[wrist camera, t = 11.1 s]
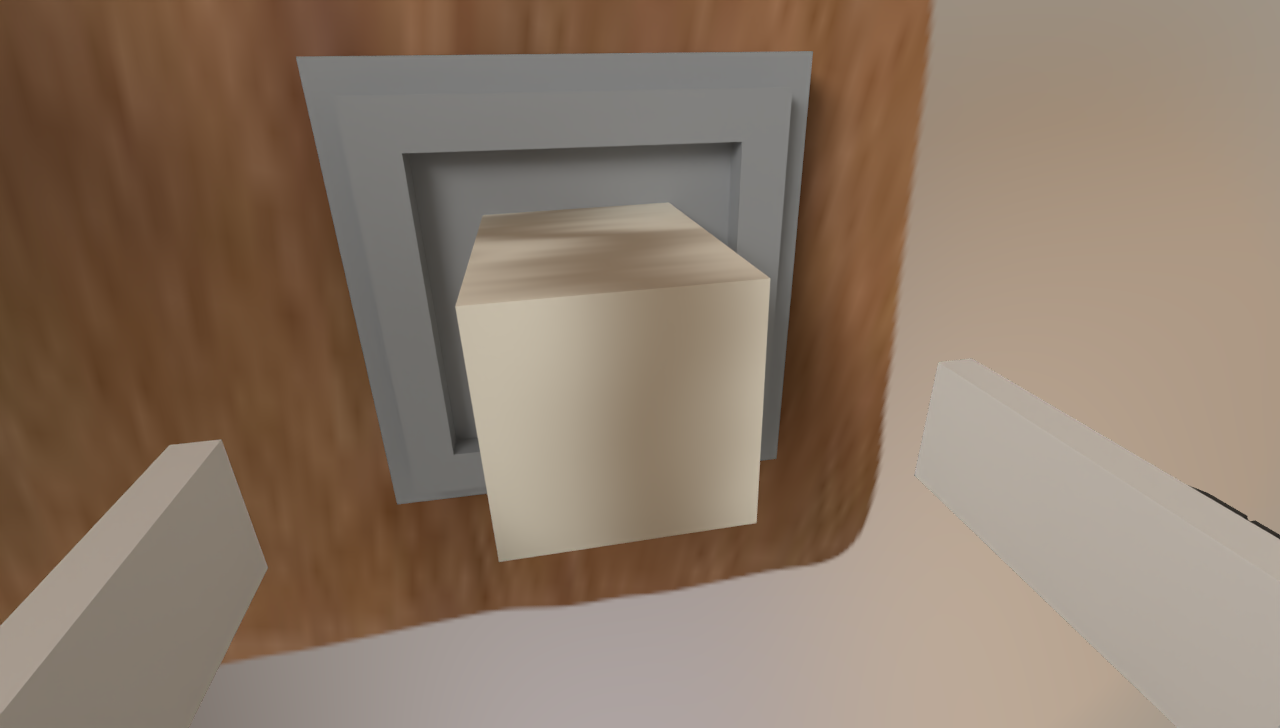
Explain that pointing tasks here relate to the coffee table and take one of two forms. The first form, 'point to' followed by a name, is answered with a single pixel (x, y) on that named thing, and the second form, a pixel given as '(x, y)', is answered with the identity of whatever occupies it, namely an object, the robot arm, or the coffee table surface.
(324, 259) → the coffee table surface
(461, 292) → the birch block
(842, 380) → the coffee table surface
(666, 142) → the slate plinth
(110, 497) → the coffee table surface
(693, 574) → the coffee table surface
